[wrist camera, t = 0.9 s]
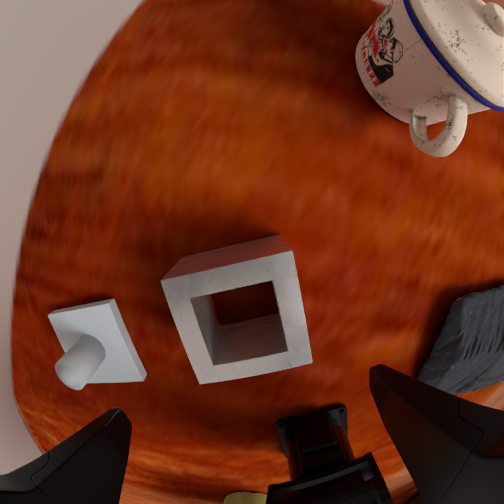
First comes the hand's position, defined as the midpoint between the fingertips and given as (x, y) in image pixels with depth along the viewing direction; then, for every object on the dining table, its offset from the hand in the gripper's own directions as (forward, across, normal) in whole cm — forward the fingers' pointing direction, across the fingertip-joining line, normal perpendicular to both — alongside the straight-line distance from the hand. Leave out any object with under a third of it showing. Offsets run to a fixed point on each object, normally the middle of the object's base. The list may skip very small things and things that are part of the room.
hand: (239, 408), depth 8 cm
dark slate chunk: (+12, -25, +13) cm, 30 cm away
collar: (+11, 0, 0) cm, 11 cm away
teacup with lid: (+11, -15, -12) cm, 22 cm away
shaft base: (+11, +13, +2) cm, 17 cm away
